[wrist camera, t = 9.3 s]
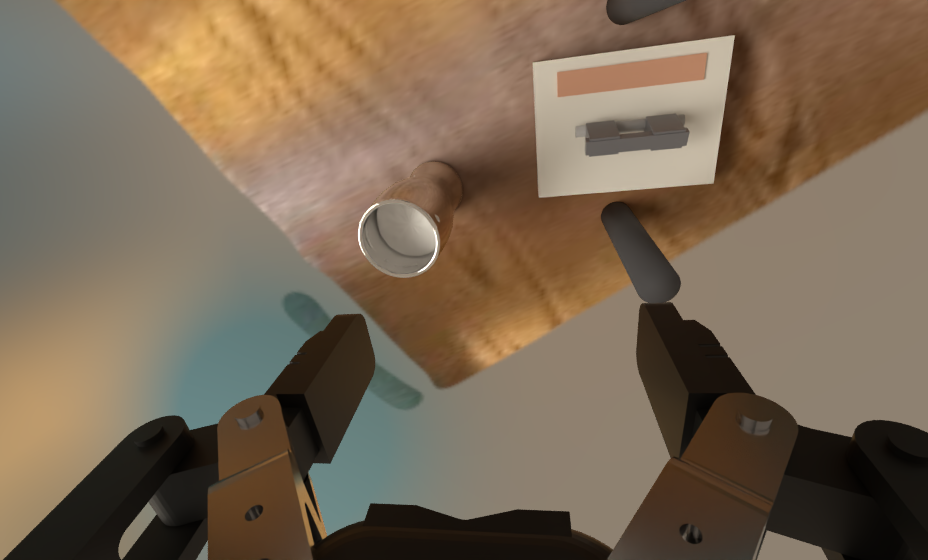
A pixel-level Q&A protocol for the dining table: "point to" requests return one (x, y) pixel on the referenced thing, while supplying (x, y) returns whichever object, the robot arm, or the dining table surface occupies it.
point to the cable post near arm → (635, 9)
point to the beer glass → (411, 221)
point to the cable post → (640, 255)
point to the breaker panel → (630, 115)
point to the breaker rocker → (634, 135)
